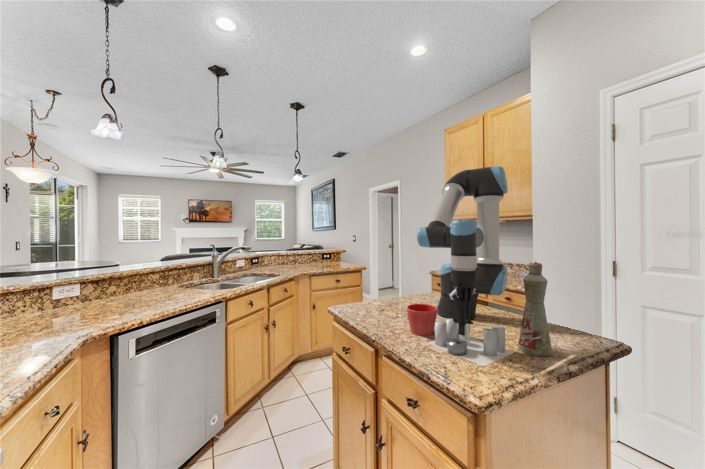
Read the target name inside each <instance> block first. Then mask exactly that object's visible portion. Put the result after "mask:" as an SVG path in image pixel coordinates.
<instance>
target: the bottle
mask: <svg viewBox="0 0 705 469" xmlns="http://www.w3.org/2000/svg"><path fill="white" fill-rule="evenodd" d="M528 267H529V268H528V274H526V275H525V276H524V277H523V280H522V281H523V287H524V294H525V300H526V301H525V303H524V308H523V314H522V319H521V320H522V321H521V327H520V332H519V339H518V343H517V348H518V350H519V351H520V352H522V353H523V354H526V355H527V356H528V355H529V356H532V357H537V358H548V357H551V356H552V355H553V354H554V352H553V347H552V346H553V345H552V342H551V337H550V331H549V325H548V320H547V319H548V318H547V314H546V308H545V303H544V302H545V296H546V291H547V286H548V279H547V278H545V276H544V275H543V274H542V271H543V264H542V263H540V262H537V261H534V262H529V263H528Z"/></svg>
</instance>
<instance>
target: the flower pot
mask: <svg viewBox="0 0 705 469" xmlns="http://www.w3.org/2000/svg"><path fill="white" fill-rule="evenodd" d="M406 312H407V319H408V324H409V329H410V333H411V334H412V335H415V336H419V337H429V336H432V335H433V334H434V332H435V322H437V315H438V314H437V307H436V306H434V305H432V304H427V303H414V304H413V303H412V304H409V305H407V306H406Z"/></svg>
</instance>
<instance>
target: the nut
mask: <svg viewBox="0 0 705 469" xmlns="http://www.w3.org/2000/svg"><path fill="white" fill-rule="evenodd" d="M447 352H448V353H449V354H451V355H453V356H457V357H459V356H464V355H467V342H466V341H464V340H461V339H449V340H448V351H447Z"/></svg>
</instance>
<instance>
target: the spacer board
mask: <svg viewBox="0 0 705 469" xmlns="http://www.w3.org/2000/svg"><path fill="white" fill-rule="evenodd" d="M482 333H483V339H482V340H483V341H482V340H479V339H477V338H473V337H471V336H469V339H470V345H469V346H467V355H464V356H458V357H460V358H462V359H465V360H467V361H470V363H471V362H472V363H473V364H477V365H479V366H480V367H485V366H488V365H490V364H491V363H495V362H496V361H500V360H501V359H503V358H505V357H508V356H510V355H512V354H514V353H515V352H514V351H512V350H508V349H506V328H505V327H504V326H500V325H493V326H491V328H483V332H482ZM449 339H459V333H458V323H455V322H453V319H451V318H446V319H445V321H441V320H439V321H437V320H436V322H435V326H434V340H431V341H428V342H427V344H429V345H431V346H434V347H437V348H439V349H441V350H444V351H445V352H448V340H449Z"/></svg>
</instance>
